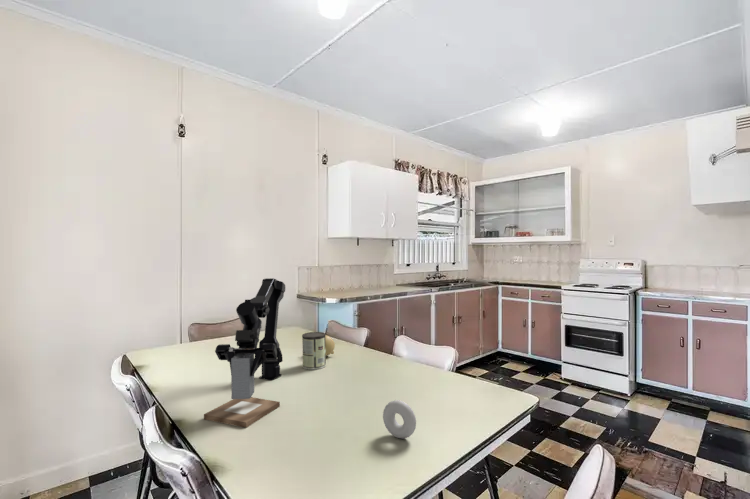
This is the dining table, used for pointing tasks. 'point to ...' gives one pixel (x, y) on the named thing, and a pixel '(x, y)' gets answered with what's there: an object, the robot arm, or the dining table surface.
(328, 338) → the toy pig
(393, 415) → the donut
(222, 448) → the dining table surface
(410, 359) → the dining table surface
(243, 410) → the walnut board
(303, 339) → the coffee can
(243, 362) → the gray block
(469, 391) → the dining table surface
